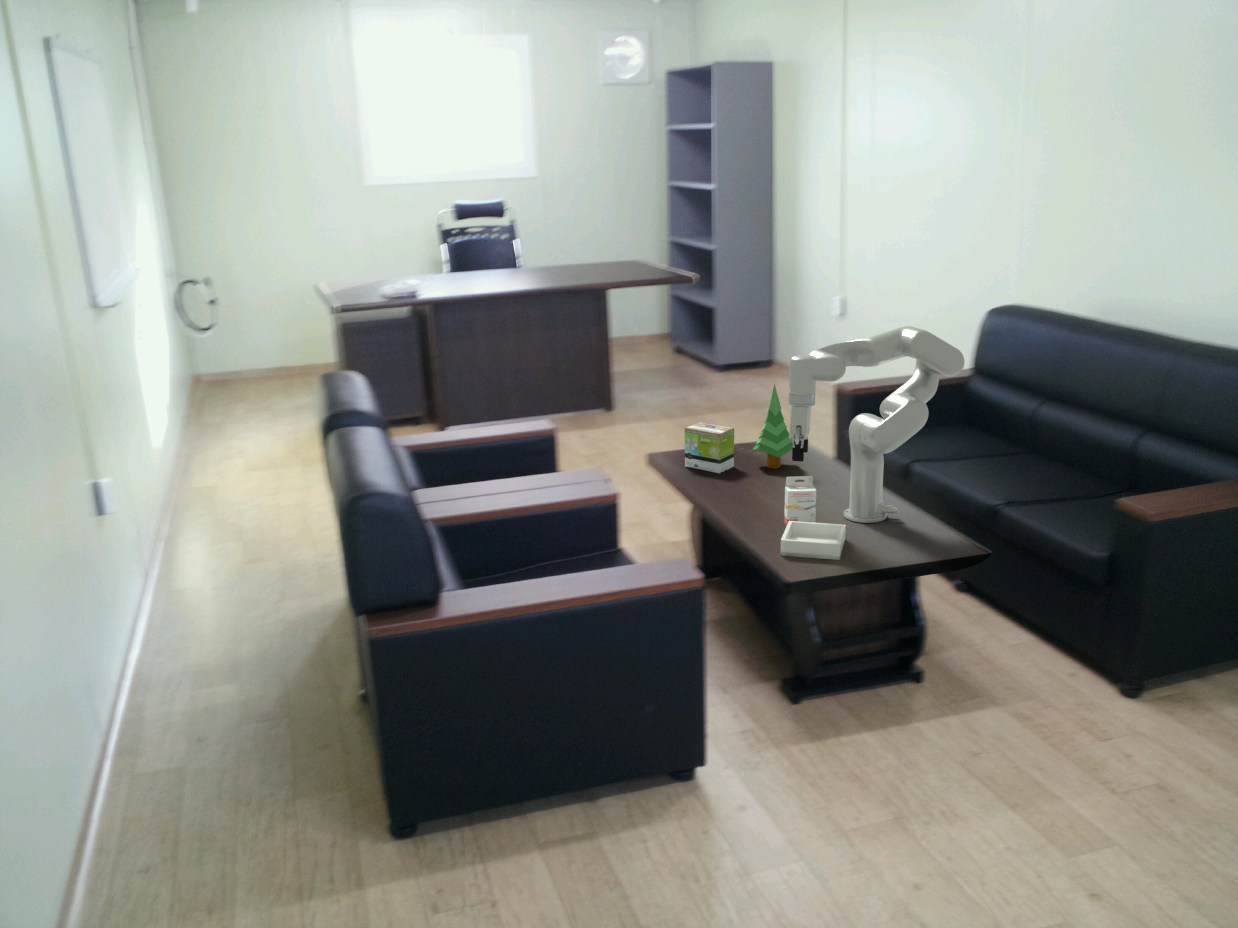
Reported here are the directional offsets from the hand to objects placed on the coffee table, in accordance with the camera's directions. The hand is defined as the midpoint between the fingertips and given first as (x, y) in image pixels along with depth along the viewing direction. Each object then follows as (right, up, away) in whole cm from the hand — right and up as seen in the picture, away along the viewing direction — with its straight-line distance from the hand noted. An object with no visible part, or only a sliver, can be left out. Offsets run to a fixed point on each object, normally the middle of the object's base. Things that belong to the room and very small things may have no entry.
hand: (800, 456), depth 301 cm
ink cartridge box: (+1, -21, +6) cm, 22 cm away
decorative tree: (+2, -3, +65) cm, 65 cm away
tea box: (-20, -4, +67) cm, 70 cm away
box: (+2, -25, -11) cm, 28 cm away
